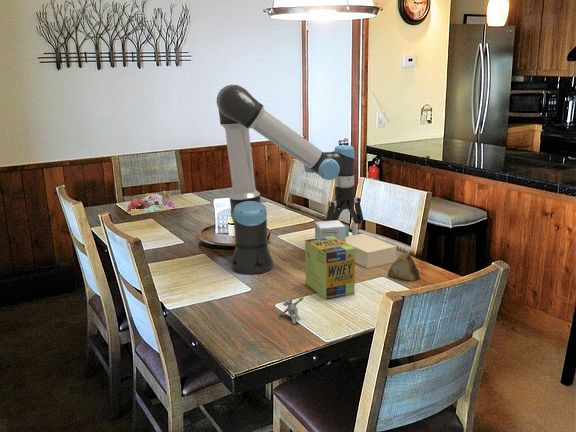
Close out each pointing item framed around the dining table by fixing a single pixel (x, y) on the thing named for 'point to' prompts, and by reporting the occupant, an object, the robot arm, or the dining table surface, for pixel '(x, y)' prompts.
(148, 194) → the candy landscape model
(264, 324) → the dining table surface
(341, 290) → the protein box
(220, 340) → the dining table surface
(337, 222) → the supplement box
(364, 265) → the sleeve
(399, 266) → the rock
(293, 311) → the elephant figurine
